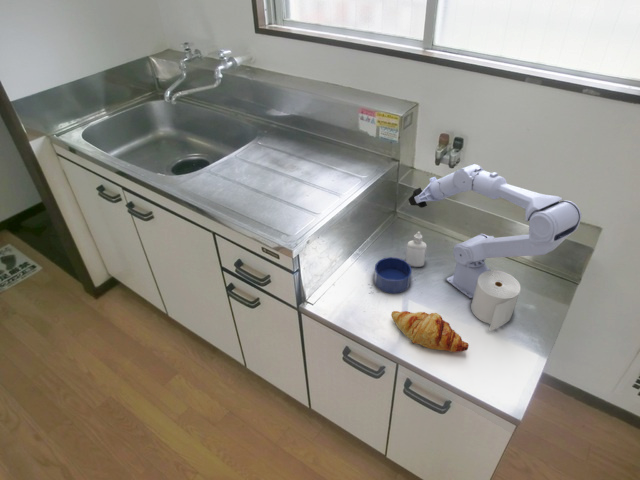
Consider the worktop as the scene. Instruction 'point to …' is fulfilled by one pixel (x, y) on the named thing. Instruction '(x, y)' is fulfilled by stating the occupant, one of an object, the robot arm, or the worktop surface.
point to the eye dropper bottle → (416, 251)
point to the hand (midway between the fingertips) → (420, 197)
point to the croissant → (429, 331)
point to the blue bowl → (392, 275)
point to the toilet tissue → (495, 298)
